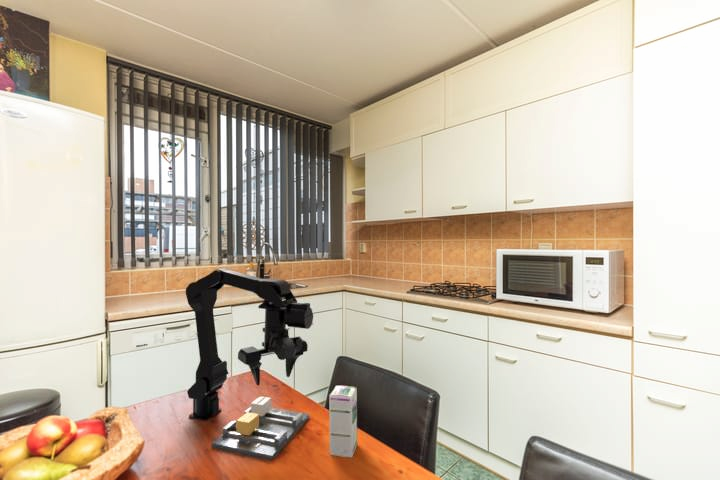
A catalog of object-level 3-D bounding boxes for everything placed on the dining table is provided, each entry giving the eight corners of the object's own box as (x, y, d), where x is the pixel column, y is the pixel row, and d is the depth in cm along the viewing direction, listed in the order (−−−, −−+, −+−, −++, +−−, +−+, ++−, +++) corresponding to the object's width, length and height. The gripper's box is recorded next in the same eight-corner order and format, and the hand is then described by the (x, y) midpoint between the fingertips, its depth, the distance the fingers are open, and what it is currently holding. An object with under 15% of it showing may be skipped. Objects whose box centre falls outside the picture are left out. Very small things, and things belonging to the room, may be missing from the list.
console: (211, 447, 82) (211, 435, 82) (258, 409, 101) (258, 399, 101) (271, 460, 77) (272, 447, 77) (309, 418, 96) (309, 407, 96)
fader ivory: (251, 419, 93) (251, 402, 93) (260, 411, 97) (260, 396, 97) (262, 421, 92) (262, 404, 92) (270, 413, 96) (270, 397, 96)
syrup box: (352, 458, 78) (352, 396, 78) (328, 455, 79) (328, 394, 79) (357, 444, 83) (357, 386, 84) (335, 441, 85) (335, 384, 85)
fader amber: (236, 438, 83) (236, 420, 83) (247, 429, 88) (247, 411, 88) (248, 440, 82) (248, 422, 82) (258, 431, 87) (258, 413, 87)
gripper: (256, 337, 80) (254, 401, 80) (319, 326, 93) (317, 381, 92) (238, 327, 88) (236, 385, 88) (298, 318, 101) (296, 369, 101)
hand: (273, 380), depth 92 cm, fingers open, 9 cm apart
